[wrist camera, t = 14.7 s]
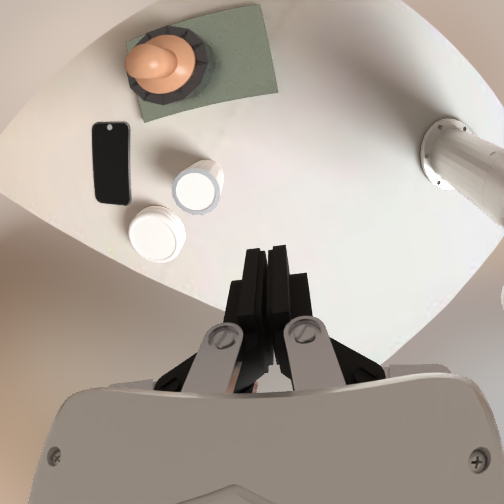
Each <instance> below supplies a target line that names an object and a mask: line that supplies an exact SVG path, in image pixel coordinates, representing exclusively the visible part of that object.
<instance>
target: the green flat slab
mask: <svg viewBox="0 0 504 504" xmlns="http://www.w3.org/2000/svg"><path fill="white" fill-rule="evenodd" d="M161 35H174V36H177V37H180V38H182V39H184V40H185V41H187V42H188V43H189V44H190V45H191V47H192V48H193V50H194V53H195V58H196V64H195V69H194V72H193V74H192V76H191V78H190V79H189V80H188V81H187V82H186V84H184V85H183V86H182V87H181V88H179V89H177V90H175V91H173V92H169V93H162V94H156V93H151V92H148V91H146V90H145V89H143V88H142V87H141V86H140V85H139V84H138V83H137V81H136V79H135V78H134V77H132V76H130V75H129V74H128V72H127V76H128V80H129V85H130V88H131V89H132V90H133V91H134V92H135V93H136V94H137V96H138V100H139V104H140V108H141V112H142V116H143V120H144V123H146V122H149V121H152V120H155V119H158V118H162V117H165V116H168V115H172V114H176V113H179V112H183V111H187V110H191V109H194V108H199V107H203V106H207V105H211V104H216V103H220V102H225V101H230V100H235V99H241V98H246V97H252V96H258V95H264V94H271V93H278V89H277V83H276V78H275V73H274V68H273V63H272V58H271V53H270V48H269V43H268V38H267V34H266V29H265V25H264V20H263V16H262V12H261V7H260V4H257V5H251V6H245V7H239V8H234V9H229V10H224V11H220V12H215V13H211V14H207V15H203V16H199V17H196V18H192V19H189V20H185V21H182V22H179V23H176V24H172V25H169V26H165V27H162V28H160V29H157V30H154V31H151V32H149V33H147V34H145V35H142V36H140V37H137V38H135V39H132V40H130V41H128V42H126V45H127V50H128V53H129V52H130V51H131V50H132V49H133V48H134V47H136V46H137V45H140V44H145V43H146V42H148V41H149V40H151V39H152V38H155V37H157V36H161Z"/></svg>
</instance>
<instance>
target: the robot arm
mask: <svg viewBox="0 0 504 504" xmlns="http://www.w3.org/2000/svg"><path fill="white" fill-rule="evenodd" d="M420 157H421V164H422V168H423V171H424V173H425V175H426V176H427V178H428V179H429V180H430V181H431V182H432V183H433V184H434V185H435V186H437V187H439V188H441V189H444V190H454V189H455V190H457V191H458V192H459V193H460V194H462V195H463V196H464V197H466V198H467V199H468V200H469V201H471V202H472V203H473V204H474V205H475V206H477V207H478V208H479V209H480V210H481V211H483V212H484V213H485V214H486V215H487V216H489V217H490V218H491V219H492V220H493V221H494V222H495V223H497V224H498V225H500V226H502V227H504V149H503V148H501V147H499V146H497V145H495V144H492V143H490V142H488V141H486V140H483V139H481V138H479V137H476V136H474V135H473V133H472V131H471V130H470V129H469V127H468V126H467V125H465V124H464V123H463V122H461V121H459V120H456V119H451V118H445V119H441V120H439V121H437V122H435V123H434V124H433V125H432V126H431V127H430V128H429V129H428V130H427V132H426V134H425V135H424V138H423V141H422V145H421V152H420ZM501 304H502V307H503V310H504V285H503V288H502V293H501ZM274 353H275V358H276V362H277V365H280V370H281V373H283V374H284V375H285V376H286V377H288V378H289V379H291V383H292V389H293V391H287V392H271V393H256V392H257V387H258V379H259V378H260V377H261V376H262V375H263V374H264V373H268V366H269V365H273V356H274V355H273V354H274ZM28 504H504V450H503V446H502V441H501V437H500V433H499V430H498V427H497V424H496V422H495V418H494V415H493V413H492V410H491V408H490V406H489V403H488V401H487V399H486V397H485V395H484V394H483V392H482V390H481V389H480V388H479V386H478V385H477V384H476V383H475V382H473V381H472V380H471V379H469V378H467V377H464V376H461V375H456V374H451V372H450V371H449V369H448V368H447V367H445V366H443V365H439V364H423V365H390V366H389V367H381V366H380V365H379V364H377V363H376V362H374V361H372V360H370V359H368V358H366V357H365V356H363V355H361V354H359V353H357V352H356V351H354V350H352V349H350V348H348V347H347V346H345V345H343V344H341V343H339V342H338V341H336V340H334V339H332V338H330V337H329V335H328V333H327V330H326V327H325V325H324V324H323V322H322V321H321V320H319V319H318V318H316V317H313V316H312V308H311V300H310V293H309V286H308V279H307V273H300V274H292V275H290V273H289V265H288V258H287V250H286V245H280V246H273V250H268V264H267V259H266V253H265V251H260V248H255V249H247V251H246V257H245V264H244V270H243V277H242V280H235V281H232V282H231V285H230V290H229V295H228V300H227V305H226V311H225V316H224V321H223V323H220V324H217V325H215V326H213V327H212V328H210V329H209V330H208V331H207V333H206V334H205V336H204V338H203V341H202V343H201V345H200V348H199V350H198V352H197V353H195V354H194V355H193V356H191V357H190V358H189V359H187V360H185V361H184V362H182V363H181V364H180V365H178V366H177V367H175V368H174V369H172V370H171V371H169V372H168V373H166V374H165V375H163V376H162V377H161V378H160V379H159V380H158V381H154V380H153V379H150V380H143V381H135V382H127V383H118V384H113V385H110V386H108V387H99V388H91V389H86V390H82V391H79V392H76V393H74V394H72V395H71V396H69V397H68V398H67V399H66V400H65V402H64V403H63V404H62V406H61V408H60V409H59V411H58V413H57V415H56V417H55V419H54V421H53V423H52V426H51V428H50V431H49V433H48V436H47V438H46V441H45V443H44V446H43V450H42V452H41V455H40V459H39V462H38V466H37V468H36V472H35V475H34V479H33V483H32V488H31V492H30V497H29V503H28Z"/></svg>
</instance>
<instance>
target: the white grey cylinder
mask: <svg viewBox="0 0 504 504" xmlns="http://www.w3.org/2000/svg"><path fill="white" fill-rule="evenodd" d="M223 181H224V173H223V171H222V169H221V167H220V166H219V165H218V164H217V163H216V162H214V161H211V160H200V161H198V162H196V163H194V164H193V165H191V166H189V167H188V168H186V169H185V170H183V171H182V172H180V173H179V175H178V176H177V177H176V178H175V179H174V182H173V185H172V195H173V198H174V200H175V202H176V204H177V205H178V206H179V207H180V208H181V209H182V210H183V211H185V212H188V213H190V214H193V215H203V214H205V213H208V212H211V211H212V210H213V209H214V208H215V207H216V206H217V204H218V202H219V199H220V196H221V191H222V186H223Z"/></svg>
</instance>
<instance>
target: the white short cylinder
mask: <svg viewBox="0 0 504 504" xmlns="http://www.w3.org/2000/svg"><path fill="white" fill-rule="evenodd" d="M128 237H129V241H130V243H131V245H132V247H133V249H134V250H135V251H136V252H137V253H138V254H139V255H140V256H141V257H143V258H144V259H146V260H148V261H151V262H156V263H163V262H168V261H170V260H172V259H173V258H175V257H176V256H177V255H178V254H179V252H180V250H181V248H182V246H183V244H184V241H185V229H184V225H183V223H182V221H181V220H180V218H179V217H178V216H177V215H176V214H175V213H174V212H173V211H171V210H169V209H167V208H165V207H162V206H150V207H146V208H144V209H142V210H141V211H140V212H139V213H138V214H137V215H136V216H135V217H134V218H133V220H132V221H131V223H130V225H129V229H128Z"/></svg>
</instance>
